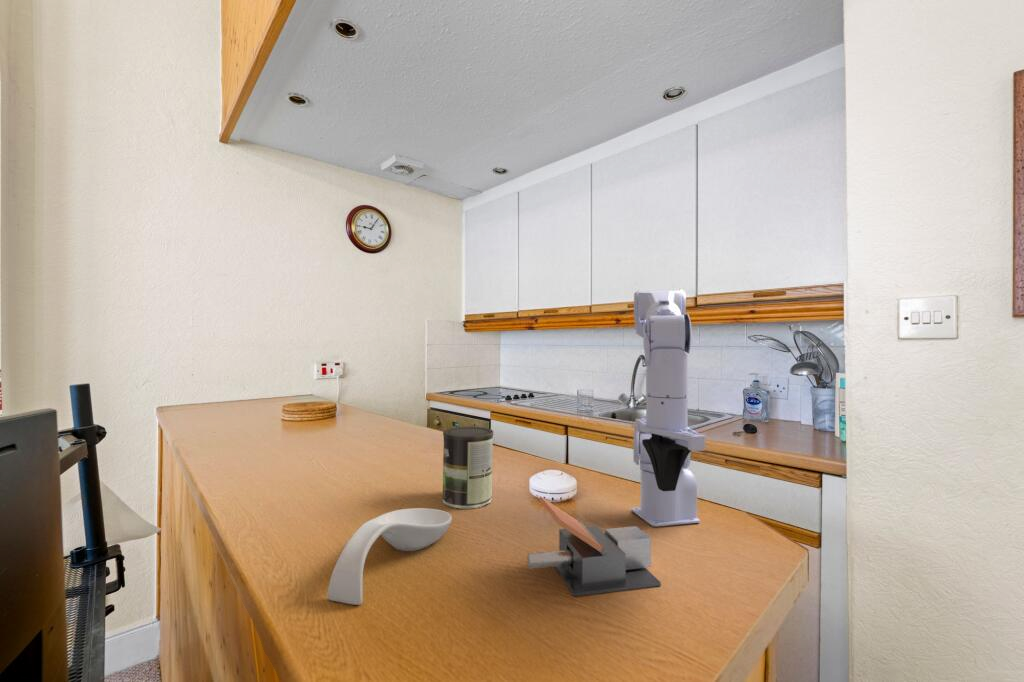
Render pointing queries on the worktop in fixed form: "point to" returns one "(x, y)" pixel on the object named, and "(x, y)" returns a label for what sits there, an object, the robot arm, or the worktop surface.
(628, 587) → the hitch block
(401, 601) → the worktop surface
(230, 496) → the worktop surface
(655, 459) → the robot arm
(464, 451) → the coffee can
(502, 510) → the worktop surface
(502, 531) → the worktop surface
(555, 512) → the plate
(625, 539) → the hitch pin
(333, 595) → the spoon rest
